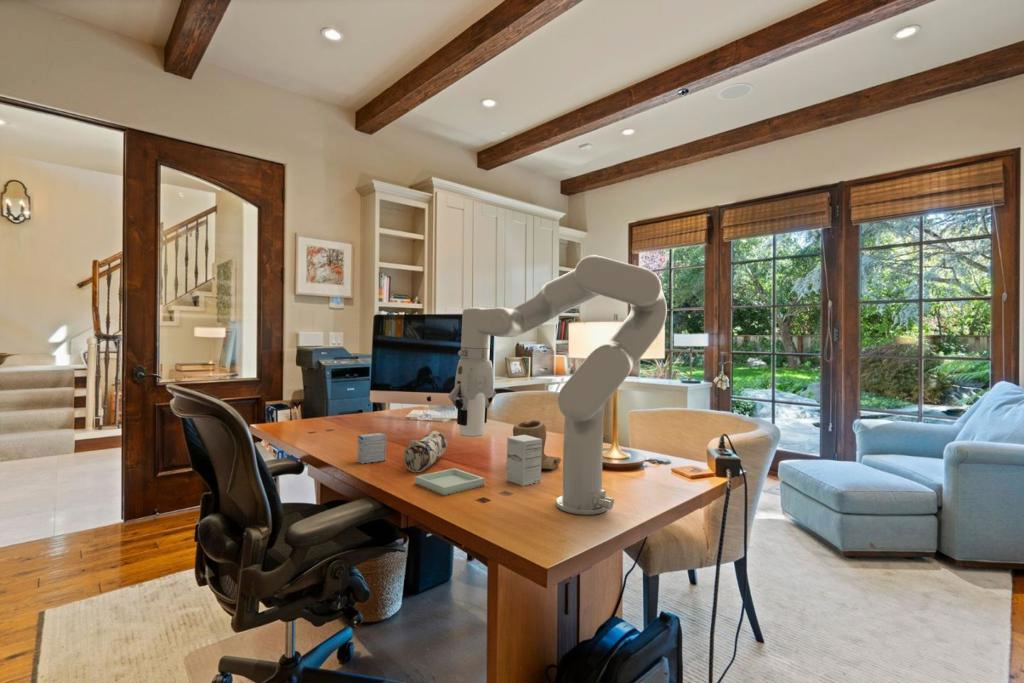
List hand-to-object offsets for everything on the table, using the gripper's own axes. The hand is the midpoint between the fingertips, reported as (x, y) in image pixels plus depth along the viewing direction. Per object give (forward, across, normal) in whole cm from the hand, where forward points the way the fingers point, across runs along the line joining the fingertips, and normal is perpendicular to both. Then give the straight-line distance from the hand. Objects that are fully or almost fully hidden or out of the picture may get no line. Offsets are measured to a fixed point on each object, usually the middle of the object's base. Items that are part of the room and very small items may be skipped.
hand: (472, 422), depth 127 cm
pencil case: (+19, +9, +32) cm, 38 cm away
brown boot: (+18, +32, +6) cm, 37 cm away
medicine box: (+20, -2, +46) cm, 50 cm away
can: (+3, 0, 0) cm, 3 cm away
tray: (+19, +1, +9) cm, 21 cm away
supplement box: (+18, +18, -2) cm, 26 cm away
